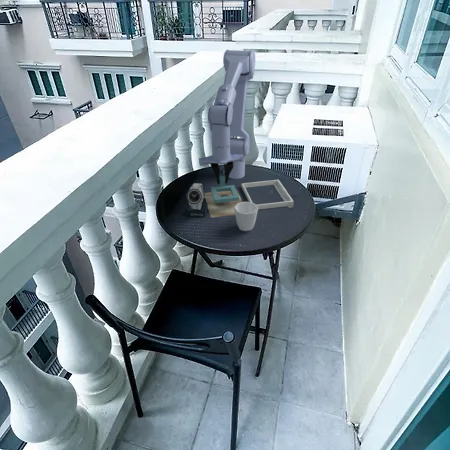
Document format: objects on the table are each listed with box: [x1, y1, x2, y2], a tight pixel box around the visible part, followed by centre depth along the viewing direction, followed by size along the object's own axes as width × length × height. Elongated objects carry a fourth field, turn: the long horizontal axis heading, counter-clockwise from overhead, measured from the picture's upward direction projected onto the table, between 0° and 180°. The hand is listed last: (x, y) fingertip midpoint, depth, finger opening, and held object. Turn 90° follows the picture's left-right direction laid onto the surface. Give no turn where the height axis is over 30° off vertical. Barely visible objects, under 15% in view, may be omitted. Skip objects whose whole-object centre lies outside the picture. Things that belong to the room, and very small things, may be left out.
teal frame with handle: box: [210, 172, 239, 203], centre depth 109 cm, size 10×8×5 cm
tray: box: [241, 179, 295, 211], centre depth 115 cm, size 16×14×2 cm
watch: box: [186, 183, 209, 218], centre depth 104 cm, size 6×8×11 cm
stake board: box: [203, 189, 243, 218], centre depth 111 cm, size 16×12×4 cm
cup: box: [234, 200, 259, 232], centre depth 99 cm, size 7×10×8 cm
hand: (222, 182), depth 112 cm, fingers closed on teal frame with handle
